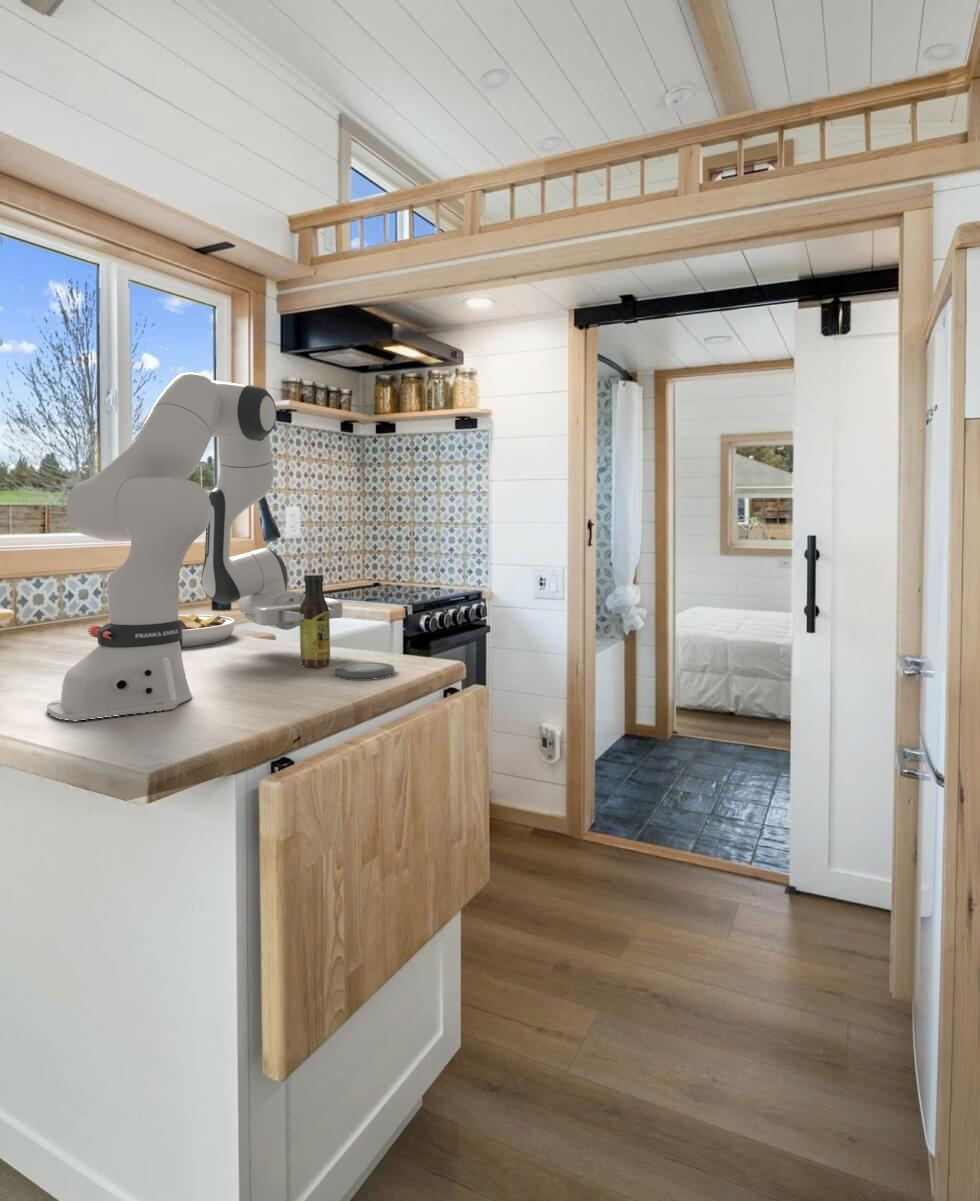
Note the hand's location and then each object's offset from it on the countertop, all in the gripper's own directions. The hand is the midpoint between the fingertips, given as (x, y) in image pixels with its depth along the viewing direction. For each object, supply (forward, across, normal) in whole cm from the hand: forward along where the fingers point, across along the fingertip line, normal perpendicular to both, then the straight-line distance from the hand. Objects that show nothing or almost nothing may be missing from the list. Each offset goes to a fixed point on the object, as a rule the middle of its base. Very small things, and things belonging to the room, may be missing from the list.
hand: (317, 615), depth 164 cm
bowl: (-56, -8, +12) cm, 58 cm away
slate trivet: (+13, +3, +11) cm, 17 cm away
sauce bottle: (-1, 0, +11) cm, 11 cm away
